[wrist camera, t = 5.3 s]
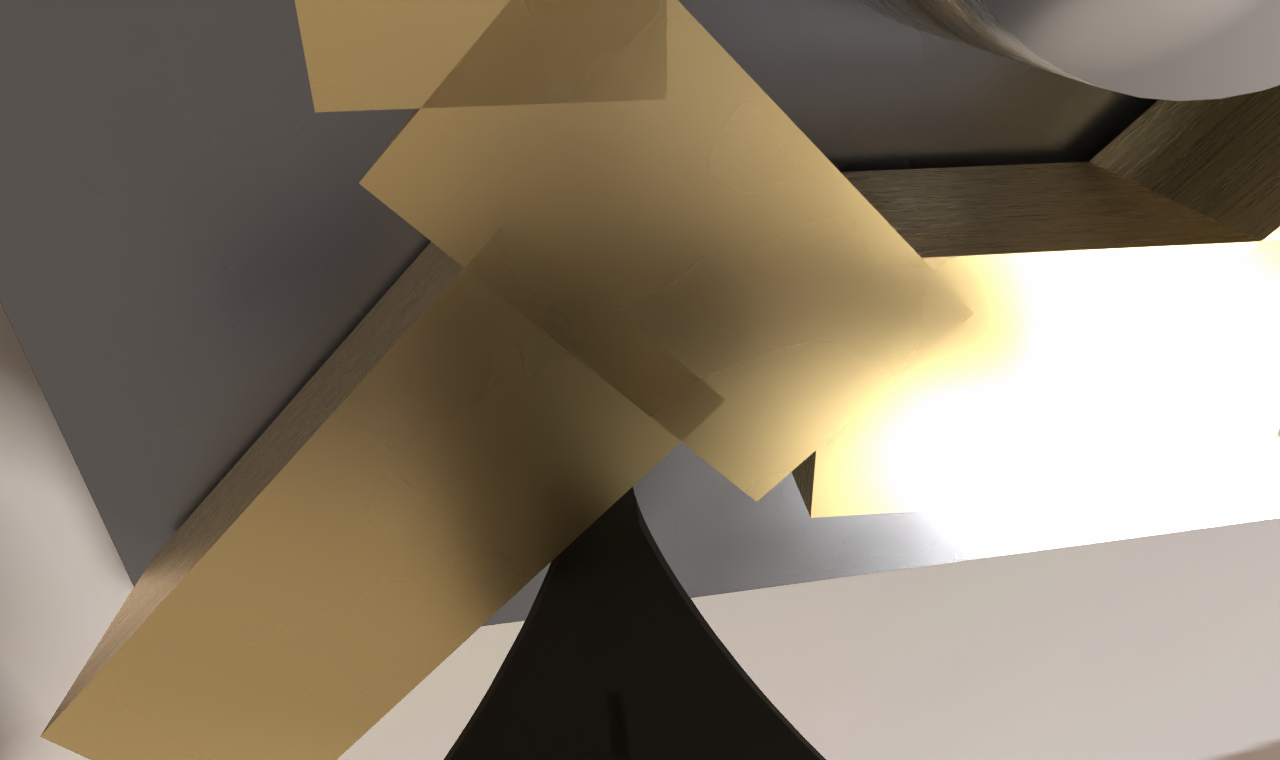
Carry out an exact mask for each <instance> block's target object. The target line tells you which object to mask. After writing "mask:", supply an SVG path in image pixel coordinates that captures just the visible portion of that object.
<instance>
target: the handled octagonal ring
mask: <svg viewBox="0 0 1280 760" xmlns="http://www.w3.org/2000/svg"><path fill="white" fill-rule="evenodd" d="M295 5H296V11H297V16H298V22H299V27H300V33H301V38H302V44H303V49H304V55H305V60H306V66H307V71H308V77H309V82H310V87H311V93H312V98H313V104H314V109H315V112H337V111H364V110H391V109H413V111H412V112H411V113H410V114H409V116H408V117H407V119H406V120H405V121H404V123H403V124H402V125H401V127H400V128H399V129H398V131H397V132H396V133H395V135H394V136H393V137H392V139H391V140H390V142H389V143H388V144H387V146H386V147H385V148H384V150H383V151H382V152H381V154H380V155H379V156H378V158H377V159H376V160H375V162H374V163H373V165H372V166H371V167H370V169H369V170H368V171H367V173H366V174H365V175H364V177H363V178H362V179H361V181H360V182H359V184H360V185H362V186H363V187H364V188H365V189H367V190H368V191H369V192H370V193H372V194H373V195H374V196H375V197H377V198H378V199H379V200H380V201H382V202H383V203H384V204H385V205H387V206H388V207H389V208H390V209H392V210H393V211H394V212H395V213H397V214H398V215H399V216H400V217H402V218H403V219H404V220H405V221H407V222H408V223H409V224H410V225H411V226H413V227H414V228H415V229H416V230H418V231H419V232H420V233H421V234H423V235H424V236H425V237H426V238H428V239H429V240H430V241H431V243H430V244H429V245H428V246H427V247H426V248H425V249H424V251H423V252H422V253H421V254H420V255H419V256H418V257H417V259H416V260H415V261H414V262H413V263H412V264H411V265H410V266H409V268H408V269H407V270H406V271H405V272H404V273H403V274H402V276H401V277H400V278H399V279H398V280H397V281H396V282H395V284H394V285H393V286H392V287H391V288H390V289H389V290H388V291H387V293H386V294H385V295H384V296H383V297H382V298H381V299H380V301H379V302H378V303H377V304H376V305H375V306H374V307H373V309H372V310H371V311H370V312H369V313H368V314H367V315H366V316H365V318H364V319H363V320H362V321H361V322H360V323H359V324H358V326H357V327H356V328H355V329H354V330H353V331H352V332H351V334H350V335H349V336H348V337H347V338H346V339H345V340H344V342H343V343H342V344H341V345H340V346H339V347H338V348H337V349H336V351H335V352H334V353H333V354H332V355H331V356H330V357H329V359H328V360H327V361H326V362H325V363H324V364H323V365H322V367H321V368H320V369H319V370H318V371H317V372H316V373H315V374H314V376H313V377H312V378H311V379H310V380H309V381H308V382H307V384H306V385H305V386H304V387H303V388H302V389H301V390H300V392H299V393H298V394H297V395H296V396H295V397H294V398H293V400H292V401H291V402H290V403H289V404H288V405H287V406H286V407H285V409H284V410H283V411H282V412H281V413H280V414H279V415H278V417H277V418H276V419H275V420H274V421H273V422H272V423H271V425H270V426H269V427H268V428H267V429H266V430H265V431H264V432H263V434H262V435H261V436H260V437H259V438H258V439H257V440H256V442H255V443H254V444H253V445H252V446H251V447H250V448H249V450H248V451H247V452H246V453H245V454H244V455H243V456H242V457H241V459H240V460H239V461H238V462H237V463H236V464H235V465H234V467H233V468H232V469H231V470H230V471H229V472H228V473H227V475H226V476H225V477H224V478H223V479H222V480H221V481H220V483H219V484H218V485H217V486H216V487H215V488H214V489H213V490H212V492H211V493H210V494H209V495H208V496H207V497H206V498H205V500H204V501H203V502H202V503H201V504H200V505H199V506H198V508H197V509H196V510H195V511H194V512H193V513H192V514H191V515H190V517H189V518H188V519H187V520H186V521H185V522H184V523H183V525H182V526H181V527H180V528H179V529H178V530H177V531H176V533H175V534H174V535H173V536H172V537H171V538H170V539H169V541H168V542H167V543H166V544H165V545H164V546H163V547H162V548H161V550H160V551H159V552H158V553H157V554H156V555H155V556H154V558H153V559H152V560H151V561H150V563H149V564H148V566H147V568H146V569H145V571H144V572H143V574H142V576H141V577H140V579H139V580H138V582H137V584H136V585H135V587H134V588H133V590H132V591H131V593H130V595H129V596H128V598H127V599H126V601H125V603H124V604H123V606H122V607H121V609H120V611H119V612H118V614H117V615H116V617H115V619H114V620H113V622H112V623H111V625H110V626H109V628H108V630H107V631H106V633H105V634H104V636H103V638H102V639H101V641H100V642H99V644H98V646H97V647H96V649H95V650H94V652H93V654H92V655H91V657H90V658H89V660H88V661H87V663H86V665H85V666H84V668H83V669H82V671H81V673H80V674H79V676H78V677H77V679H76V681H75V682H74V684H73V685H72V687H71V689H70V690H69V692H68V693H67V695H66V696H65V698H64V700H63V701H62V703H61V704H60V706H59V708H58V709H57V711H56V712H55V714H54V716H53V717H52V719H51V720H50V722H49V724H48V725H47V727H46V728H45V730H44V731H43V733H42V735H41V736H40V737H42V738H45V739H47V740H49V741H51V742H53V743H56V744H58V745H60V746H62V747H64V748H66V749H69V750H71V751H73V752H75V753H77V754H80V755H82V756H84V757H86V758H88V759H90V760H337V759H338V758H339V757H340V756H341V755H342V754H343V753H344V752H345V751H346V750H347V749H349V748H350V747H351V746H352V745H353V744H354V743H355V742H356V741H357V740H358V739H359V738H360V737H362V736H363V735H364V734H365V733H366V732H367V731H368V730H369V729H370V728H371V727H372V726H373V725H375V724H376V723H377V722H378V721H379V720H380V719H381V718H382V717H383V716H384V715H385V714H386V713H388V712H389V711H390V710H391V709H392V708H393V707H394V706H395V705H396V704H397V703H398V702H399V701H401V700H402V699H403V698H404V697H405V696H406V695H407V694H408V693H409V692H410V691H411V690H413V689H414V688H415V687H416V686H417V685H418V684H419V683H420V682H421V681H422V680H423V679H424V678H426V677H427V676H428V675H429V674H430V673H431V672H432V671H433V670H434V669H435V668H436V667H437V666H439V665H440V664H441V663H442V662H443V661H444V660H445V659H446V658H447V657H448V656H449V655H450V654H452V653H453V652H454V651H455V650H456V649H457V648H458V647H459V646H460V645H461V644H462V643H463V642H465V641H466V640H467V639H468V638H469V637H470V636H471V635H472V634H473V633H474V632H475V631H476V630H478V629H479V628H480V627H481V626H482V625H483V624H484V623H485V622H486V621H487V620H488V619H489V618H491V617H492V616H493V615H494V614H495V613H496V612H497V611H498V610H499V609H500V608H501V607H502V606H504V605H505V604H506V603H507V602H508V601H509V600H510V599H511V598H512V597H513V596H514V595H515V594H517V593H518V592H519V591H520V590H521V589H522V588H523V587H524V586H525V585H526V584H527V583H528V582H530V581H531V580H532V579H533V578H534V577H535V576H536V575H537V574H538V573H539V572H540V571H541V570H543V569H544V568H545V567H546V566H547V565H548V564H549V563H550V562H551V561H552V560H553V559H554V558H556V557H557V556H558V555H559V554H560V553H561V552H562V551H563V550H564V549H565V548H566V547H567V546H569V545H570V544H571V543H572V542H573V541H574V540H575V539H576V538H577V537H578V536H579V535H580V534H582V533H583V532H584V531H585V530H586V529H587V528H588V527H589V526H590V525H591V524H592V523H594V522H595V521H596V520H597V519H598V518H599V517H600V516H601V515H602V514H603V513H604V512H605V511H607V510H608V509H609V508H610V507H611V506H612V505H613V504H614V503H615V502H616V501H617V500H618V499H620V498H621V497H622V496H623V495H624V494H625V493H626V492H627V491H628V490H629V489H630V488H631V487H633V486H634V485H635V484H636V483H637V482H638V481H639V480H640V479H641V478H642V477H643V476H644V475H646V474H647V473H648V472H649V471H650V470H651V469H652V468H653V467H654V466H655V465H656V464H657V463H659V462H660V461H661V460H662V459H663V458H664V457H665V456H666V455H667V454H668V453H669V452H670V451H672V450H673V449H674V448H675V447H676V446H677V445H678V444H679V443H680V442H682V443H684V444H685V445H686V446H687V447H689V448H690V449H691V450H692V451H694V452H695V453H696V454H697V455H699V456H700V457H701V458H702V459H704V460H705V461H706V462H707V463H709V464H710V465H711V466H712V467H714V468H715V469H716V470H717V471H719V472H720V473H721V474H722V475H724V476H725V477H726V478H727V479H729V480H730V481H731V482H732V483H734V484H735V485H736V486H737V487H739V488H740V489H741V490H742V491H744V492H745V493H746V494H747V495H749V496H750V497H751V498H752V499H754V500H755V501H756V502H757V501H758V500H759V499H760V498H762V497H763V496H764V495H765V494H766V493H767V492H769V491H770V490H771V489H772V488H773V487H774V486H775V485H777V484H778V483H779V482H780V481H781V480H782V479H784V478H785V477H786V476H787V475H788V474H789V473H790V472H792V475H793V477H794V480H795V482H796V484H797V487H798V489H799V491H800V494H801V496H802V499H803V501H804V503H805V506H806V508H807V510H808V513H809V515H810V518H817V517H832V516H847V515H862V514H877V513H892V512H907V511H922V510H936V509H951V508H966V507H981V506H996V505H1011V504H1026V503H1041V502H1056V501H1071V500H1086V499H1101V498H1116V497H1131V496H1146V495H1161V494H1176V493H1191V492H1206V491H1221V490H1236V489H1251V488H1258V486H1259V483H1260V480H1261V477H1262V474H1263V471H1264V469H1265V466H1266V463H1267V460H1268V457H1269V454H1270V452H1271V449H1272V446H1273V443H1274V440H1275V437H1276V436H1277V437H1278V438H1279V439H1280V85H1278V86H1275V87H1272V88H1269V89H1266V90H1263V91H1258V92H1253V93H1248V94H1243V95H1237V96H1232V97H1227V98H1222V99H1208V100H1190V101H1172V100H1161V99H1159V100H1158V101H1157V102H1156V103H1155V104H1153V105H1152V106H1151V107H1150V108H1149V109H1148V110H1147V111H1146V112H1144V113H1143V114H1142V115H1141V116H1140V117H1139V118H1138V119H1137V120H1135V121H1134V122H1133V123H1132V124H1131V125H1130V126H1129V127H1127V128H1126V129H1125V130H1124V131H1123V132H1122V133H1121V134H1120V135H1118V136H1117V137H1116V138H1115V139H1114V140H1113V141H1112V142H1111V143H1109V144H1108V145H1107V146H1106V147H1105V148H1104V149H1103V150H1102V151H1100V152H1099V153H1098V154H1097V155H1096V156H1095V157H1094V158H1093V159H1091V160H1090V161H1089V162H1067V163H1044V164H1020V165H997V166H973V167H949V168H926V169H902V170H878V171H855V172H840V171H839V170H838V169H837V168H836V167H835V166H834V165H833V164H832V163H831V162H830V161H829V160H828V158H827V157H826V156H825V155H824V154H823V153H822V152H821V151H820V150H819V149H818V148H817V147H816V146H815V145H814V144H813V143H812V142H811V141H810V139H809V138H808V137H807V136H806V135H805V134H804V133H803V132H802V131H801V130H800V129H799V128H798V127H797V126H796V125H795V124H794V123H793V122H792V120H791V119H790V118H789V117H788V116H787V115H786V114H785V113H784V112H783V111H782V110H781V109H780V108H779V107H778V106H777V105H776V104H775V102H774V101H773V100H772V99H771V98H770V97H769V96H768V95H767V94H766V93H765V92H764V91H763V90H762V89H761V88H760V87H759V86H758V85H757V83H756V82H755V81H754V80H753V79H752V78H751V77H750V76H749V75H748V74H747V73H746V72H745V71H744V70H743V69H742V68H741V67H740V65H739V64H738V63H737V62H736V61H735V60H734V59H733V58H732V57H731V56H730V55H729V54H728V53H727V52H726V51H725V50H724V49H723V48H722V46H721V45H720V44H719V43H718V42H717V41H716V40H715V39H714V38H713V37H712V36H711V35H710V34H709V33H708V32H707V31H706V30H705V29H704V27H703V26H702V25H701V24H700V23H699V22H698V21H697V20H696V19H695V18H694V17H693V16H692V15H691V14H690V13H689V12H688V11H687V9H686V8H685V7H684V6H683V5H682V4H681V3H680V2H679V1H678V0H295Z"/></svg>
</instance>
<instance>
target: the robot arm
mask: <svg viewBox="0 0 1280 760" xmlns="http://www.w3.org/2000/svg"><path fill="white" fill-rule="evenodd" d="M444 760H826V759H825V758H824V757H823V756H822V755H821V754H820V753H819V752H818V751H817V750H816V749H815V748H814V747H813V746H812V745H811V744H810V743H809V742H808V741H807V740H806V739H805V738H804V737H803V736H802V735H801V734H800V733H799V732H798V731H797V730H796V729H795V728H794V726H793V725H792V724H791V723H790V722H789V721H788V720H787V719H786V718H785V717H784V716H783V715H782V714H781V713H780V711H779V710H778V709H777V708H776V707H775V706H774V705H773V704H772V703H771V702H770V700H769V699H768V698H767V697H766V696H765V695H764V694H763V692H762V691H761V690H760V689H759V688H758V687H757V685H756V684H755V683H754V682H753V681H752V679H751V678H750V677H749V676H748V675H747V673H746V672H745V671H744V670H743V669H742V667H741V666H740V665H739V664H738V662H737V661H736V660H735V658H734V657H733V656H732V655H731V653H730V652H729V651H728V650H727V648H726V647H725V646H724V644H723V643H722V642H721V641H720V639H719V638H718V637H717V635H716V634H715V633H714V631H713V630H712V629H711V627H710V626H709V624H708V623H707V622H706V620H705V619H704V618H703V616H702V615H701V613H700V612H699V610H698V609H697V607H696V606H695V604H694V603H693V601H692V600H691V598H690V597H689V596H688V594H687V593H686V591H685V590H684V588H683V587H682V585H681V584H680V582H679V581H678V579H677V578H676V576H675V574H674V573H673V571H672V570H671V568H670V566H669V565H668V563H667V561H666V560H665V558H664V556H663V554H662V553H661V551H660V549H659V547H658V545H657V544H656V542H655V540H654V538H653V536H652V534H651V532H650V530H649V528H648V526H647V524H646V522H645V520H644V518H643V515H642V513H641V510H640V508H639V505H638V502H637V499H636V496H635V494H634V489H633V487H632V488H630V489H629V490H628V491H627V492H626V493H625V494H624V495H623V496H622V497H621V498H620V499H618V500H617V501H616V502H615V503H614V504H613V505H612V506H611V507H610V508H609V509H608V510H607V511H605V512H604V513H603V514H602V515H601V516H600V517H599V518H598V519H597V520H596V521H595V522H594V523H592V524H591V525H590V526H589V527H588V528H587V529H586V530H585V531H584V532H583V533H582V534H580V535H579V536H578V537H577V538H576V539H575V540H574V541H573V542H572V543H571V544H570V545H569V546H567V547H566V548H565V549H564V550H563V551H562V552H561V553H560V554H559V555H558V556H557V557H556V558H554V559H553V560H552V561H551V564H550V566H549V569H548V571H547V574H546V576H545V578H544V581H543V583H542V585H541V587H540V589H539V592H538V594H537V596H536V598H535V600H534V603H533V605H532V607H531V609H530V612H529V614H528V616H527V618H526V620H525V622H524V624H523V626H522V628H521V630H520V632H519V634H518V636H517V638H516V640H515V642H514V643H513V645H512V647H511V649H510V651H509V653H508V654H507V656H506V658H505V660H504V662H503V664H502V666H501V667H500V669H499V671H498V673H497V675H496V677H495V678H494V680H493V682H492V684H491V686H490V687H489V689H488V691H487V693H486V694H485V696H484V698H483V699H482V701H481V703H480V704H479V706H478V707H477V709H476V711H475V712H474V714H473V716H472V717H471V719H470V720H469V722H468V724H467V725H466V727H465V728H464V730H463V732H462V733H461V735H460V736H459V738H458V739H457V741H456V742H455V744H454V745H453V747H452V748H451V750H450V751H449V753H448V754H447V756H446V757H445V759H444Z"/></svg>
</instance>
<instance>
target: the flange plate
mask: <svg viewBox="0 0 1280 760" xmlns="http://www.w3.org/2000/svg"><path fill="white" fill-rule="evenodd" d="M678 1H679V2H680V3H681V4H682V5H683V6H684V7H685V8H686V9H687V11H688V12H689V13H690V14H691V15H692V16H693V17H694V18H695V19H696V20H697V21H698V22H699V23H700V24H701V25H702V26H703V27H704V29H705V30H706V31H707V32H708V33H709V34H710V35H711V36H712V37H713V38H714V39H715V40H716V41H717V42H718V43H719V44H720V45H721V46H722V48H723V49H724V50H725V51H726V52H727V53H728V54H729V55H730V56H731V57H732V58H733V59H734V60H735V61H736V62H737V63H738V64H739V65H740V67H741V68H742V69H743V70H744V71H745V72H746V73H747V74H748V75H749V76H750V77H751V78H752V79H753V80H754V81H755V82H756V83H757V85H758V86H759V87H760V88H761V89H762V90H763V91H764V92H765V93H766V94H767V95H768V96H769V97H770V98H771V99H772V100H773V101H774V102H775V104H776V105H777V106H778V107H779V108H780V109H781V110H782V111H783V112H784V113H785V114H786V115H787V116H788V117H789V118H790V119H791V120H792V122H793V123H794V124H795V125H796V126H797V127H798V128H799V129H800V130H801V131H802V132H803V133H804V134H805V135H806V136H807V137H808V138H809V139H810V141H811V142H812V143H813V144H814V145H815V146H816V147H817V148H818V149H819V150H820V151H821V152H822V153H823V154H824V155H825V156H826V157H827V158H828V160H829V161H830V162H831V163H832V164H833V165H834V166H835V167H836V168H837V169H838V170H839V171H840V172H855V171H878V170H902V169H926V168H949V167H973V166H997V165H1020V164H1044V163H1067V162H1089V161H1090V160H1091V159H1093V158H1094V157H1095V156H1096V155H1097V154H1098V153H1099V152H1100V151H1102V150H1103V149H1104V148H1105V147H1106V146H1107V145H1108V144H1109V143H1111V142H1112V141H1113V140H1114V139H1115V138H1116V137H1117V136H1118V135H1120V134H1121V133H1122V132H1123V131H1124V130H1125V129H1126V128H1127V127H1129V126H1130V125H1131V124H1132V123H1133V122H1134V121H1135V120H1137V119H1138V118H1139V117H1140V116H1141V115H1142V114H1143V113H1144V112H1146V111H1147V110H1148V109H1149V108H1150V107H1151V106H1152V105H1153V104H1155V103H1156V102H1157V101H1158V100H1159V99H1161V100H1172V101H1190V100H1208V99H1222V98H1227V97H1232V96H1237V95H1243V94H1248V93H1253V92H1258V91H1263V90H1266V89H1269V88H1272V87H1275V86H1278V85H1280V0H678ZM412 111H413V109H391V110H364V111H337V112H315V109H314V104H313V98H312V93H311V87H310V82H309V77H308V71H307V66H306V60H305V55H304V49H303V44H302V38H301V33H300V27H299V22H298V16H297V11H296V5H295V0H0V302H1V304H2V306H3V308H4V310H5V312H6V314H7V317H8V319H9V321H10V323H11V325H12V327H13V329H14V332H15V334H16V336H17V338H18V340H19V342H20V344H21V347H22V349H23V351H24V353H25V355H26V357H27V359H28V361H29V364H30V366H31V368H32V370H33V372H34V374H35V376H36V379H37V381H38V383H39V385H40V387H41V389H42V391H43V394H44V396H45V398H46V400H47V402H48V404H49V406H50V408H51V411H52V413H53V415H54V417H55V419H56V421H57V423H58V426H59V428H60V430H61V432H62V434H63V436H64V438H65V441H66V443H67V445H68V447H69V449H70V451H71V453H72V455H73V458H74V460H75V462H76V464H77V466H78V468H79V470H80V473H81V475H82V477H83V479H84V481H85V483H86V485H87V488H88V490H89V492H90V494H91V496H92V498H93V500H94V502H95V505H96V507H97V509H98V511H99V513H100V515H101V517H102V520H103V522H104V524H105V526H106V528H107V530H108V532H109V535H110V537H111V539H112V541H113V543H114V545H115V547H116V549H117V552H118V554H119V556H120V558H121V560H122V562H123V564H124V567H125V569H126V571H127V573H128V575H129V577H130V579H131V582H132V584H133V586H134V587H135V585H136V584H137V582H138V580H139V579H140V577H141V576H142V574H143V572H144V571H145V569H146V568H147V566H148V564H149V563H150V561H151V560H152V559H153V558H154V556H155V555H156V554H157V553H158V552H159V551H160V550H161V548H162V547H163V546H164V545H165V544H166V543H167V542H168V541H169V539H170V538H171V537H172V536H173V535H174V534H175V533H176V531H177V530H178V529H179V528H180V527H181V526H182V525H183V523H184V522H185V521H186V520H187V519H188V518H189V517H190V515H191V514H192V513H193V512H194V511H195V510H196V509H197V508H198V506H199V505H200V504H201V503H202V502H203V501H204V500H205V498H206V497H207V496H208V495H209V494H210V493H211V492H212V490H213V489H214V488H215V487H216V486H217V485H218V484H219V483H220V481H221V480H222V479H223V478H224V477H225V476H226V475H227V473H228V472H229V471H230V470H231V469H232V468H233V467H234V465H235V464H236V463H237V462H238V461H239V460H240V459H241V457H242V456H243V455H244V454H245V453H246V452H247V451H248V450H249V448H250V447H251V446H252V445H253V444H254V443H255V442H256V440H257V439H258V438H259V437H260V436H261V435H262V434H263V432H264V431H265V430H266V429H267V428H268V427H269V426H270V425H271V423H272V422H273V421H274V420H275V419H276V418H277V417H278V415H279V414H280V413H281V412H282V411H283V410H284V409H285V407H286V406H287V405H288V404H289V403H290V402H291V401H292V400H293V398H294V397H295V396H296V395H297V394H298V393H299V392H300V390H301V389H302V388H303V387H304V386H305V385H306V384H307V382H308V381H309V380H310V379H311V378H312V377H313V376H314V374H315V373H316V372H317V371H318V370H319V369H320V368H321V367H322V365H323V364H324V363H325V362H326V361H327V360H328V359H329V357H330V356H331V355H332V354H333V353H334V352H335V351H336V349H337V348H338V347H339V346H340V345H341V344H342V343H343V342H344V340H345V339H346V338H347V337H348V336H349V335H350V334H351V332H352V331H353V330H354V329H355V328H356V327H357V326H358V324H359V323H360V322H361V321H362V320H363V319H364V318H365V316H366V315H367V314H368V313H369V312H370V311H371V310H372V309H373V307H374V306H375V305H376V304H377V303H378V302H379V301H380V299H381V298H382V297H383V296H384V295H385V294H386V293H387V291H388V290H389V289H390V288H391V287H392V286H393V285H394V284H395V282H396V281H397V280H398V279H399V278H400V277H401V276H402V274H403V273H404V272H405V271H406V270H407V269H408V268H409V266H410V265H411V264H412V263H413V262H414V261H415V260H416V259H417V257H418V256H419V255H420V254H421V253H422V252H423V251H424V249H425V248H426V247H427V246H428V245H429V244H430V243H431V241H430V240H429V239H428V238H426V237H425V236H424V235H423V234H421V233H420V232H419V231H418V230H416V229H415V228H414V227H413V226H411V225H410V224H409V223H408V222H407V221H405V220H404V219H403V218H402V217H400V216H399V215H398V214H397V213H395V212H394V211H393V210H392V209H390V208H389V207H388V206H387V205H385V204H384V203H383V202H382V201H380V200H379V199H378V198H377V197H375V196H374V195H373V194H372V193H370V192H369V191H368V190H367V189H365V188H364V187H363V186H362V185H360V184H359V182H360V181H361V179H362V178H363V177H364V175H365V174H366V173H367V171H368V170H369V169H370V167H371V166H372V165H373V163H374V162H375V160H376V159H377V158H378V156H379V155H380V154H381V152H382V151H383V150H384V148H385V147H386V146H387V144H388V143H389V142H390V140H391V139H392V137H393V136H394V135H395V133H396V132H397V131H398V129H399V128H400V127H401V125H402V124H403V123H404V121H405V120H406V119H407V117H408V116H409V114H410V113H411V112H412ZM631 488H632V487H631ZM633 489H634V494H635V496H636V499H637V502H638V505H639V508H640V510H641V513H642V515H643V518H644V520H645V522H646V524H647V526H648V528H649V530H650V532H651V534H652V536H653V538H654V540H655V542H656V544H657V545H658V547H659V549H660V551H661V553H662V554H663V556H664V558H665V560H666V561H667V563H668V565H669V566H670V568H671V570H672V571H673V573H674V574H675V576H676V578H677V579H678V581H679V582H680V584H681V585H682V587H683V588H684V590H685V591H686V593H687V594H688V596H689V597H690V598H694V597H701V596H708V595H716V594H723V593H730V592H738V591H745V590H752V589H760V588H767V587H775V586H782V585H789V584H797V583H804V582H811V581H819V580H826V579H833V578H841V577H848V576H856V575H863V574H870V573H878V572H885V571H892V570H900V569H907V568H914V567H922V566H929V565H937V564H944V563H951V562H959V561H966V560H973V559H981V558H988V557H995V556H1003V555H1010V554H1018V553H1025V552H1032V551H1040V550H1047V549H1054V548H1062V547H1069V546H1076V545H1084V544H1091V543H1099V542H1106V541H1113V540H1121V539H1128V538H1135V537H1143V536H1150V535H1157V534H1165V533H1172V532H1180V531H1187V530H1194V529H1202V528H1209V527H1216V526H1224V525H1231V524H1238V523H1246V522H1253V521H1261V520H1268V519H1275V518H1280V439H1279V438H1278V437H1277V436H1276V437H1275V440H1274V443H1273V446H1272V449H1271V452H1270V454H1269V457H1268V460H1267V463H1266V466H1265V469H1264V471H1263V474H1262V477H1261V480H1260V483H1259V486H1258V488H1251V489H1236V490H1221V491H1206V492H1191V493H1176V494H1161V495H1146V496H1131V497H1116V498H1101V499H1086V500H1071V501H1056V502H1041V503H1026V504H1011V505H996V506H981V507H966V508H951V509H936V510H922V511H907V512H892V513H877V514H862V515H847V516H832V517H817V518H810V515H809V513H808V510H807V508H806V506H805V503H804V501H803V499H802V496H801V494H800V491H799V489H798V487H797V484H796V482H795V480H794V477H793V475H792V472H790V473H789V474H788V475H787V476H786V477H785V478H784V479H782V480H781V481H780V482H779V483H778V484H777V485H775V486H774V487H773V488H772V489H771V490H770V491H769V492H767V493H766V494H765V495H764V496H763V497H762V498H760V499H759V500H758V501H757V502H756V501H755V500H754V499H752V498H751V497H750V496H749V495H747V494H746V493H745V492H744V491H742V490H741V489H740V488H739V487H737V486H736V485H735V484H734V483H732V482H731V481H730V480H729V479H727V478H726V477H725V476H724V475H722V474H721V473H720V472H719V471H717V470H716V469H715V468H714V467H712V466H711V465H710V464H709V463H707V462H706V461H705V460H704V459H702V458H701V457H700V456H699V455H697V454H696V453H695V452H694V451H692V450H691V449H690V448H689V447H687V446H686V445H685V444H684V443H682V442H680V443H679V444H678V445H677V446H676V447H675V448H674V449H673V450H672V451H670V452H669V453H668V454H667V455H666V456H665V457H664V458H663V459H662V460H661V461H660V462H659V463H657V464H656V465H655V466H654V467H653V468H652V469H651V470H650V471H649V472H648V473H647V474H646V475H644V476H643V477H642V478H641V479H640V480H639V481H638V482H637V483H636V484H635V485H634V486H633ZM550 564H551V562H550V563H549V564H548V565H547V566H546V567H545V568H544V569H543V570H541V571H540V572H539V573H538V574H537V575H536V576H535V577H534V578H533V579H532V580H531V581H530V582H528V583H527V584H526V585H525V586H524V587H523V588H522V589H521V590H520V591H519V592H518V593H517V594H515V595H514V596H513V597H512V598H511V599H510V600H509V601H508V602H507V603H506V604H505V605H504V606H502V607H501V608H500V609H499V610H498V611H497V612H496V613H495V614H494V615H493V616H492V617H491V618H489V619H488V620H487V621H486V622H485V623H484V624H483V625H482V626H487V625H495V624H502V623H510V622H517V621H524V620H526V618H527V616H528V614H529V612H530V609H531V607H532V605H533V603H534V600H535V598H536V596H537V594H538V592H539V589H540V587H541V585H542V583H543V581H544V578H545V576H546V574H547V571H548V569H549V566H550Z"/></svg>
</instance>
